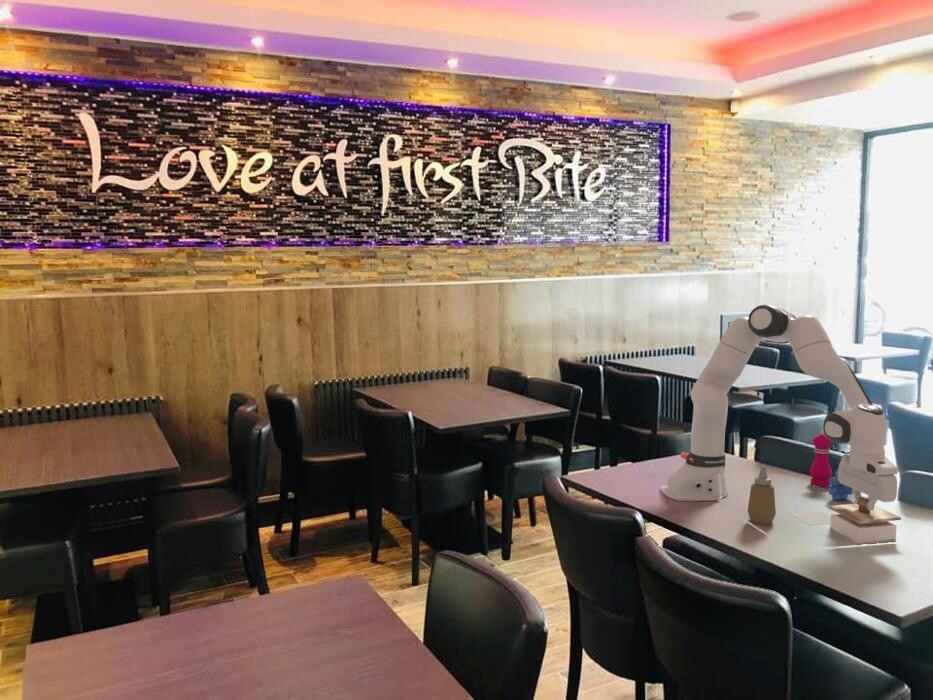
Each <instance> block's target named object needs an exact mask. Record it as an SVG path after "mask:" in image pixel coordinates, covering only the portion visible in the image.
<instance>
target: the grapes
mask: <svg viewBox="0 0 933 700" xmlns="http://www.w3.org/2000/svg"><path fill="white" fill-rule="evenodd" d="M838 469H839V468H838ZM838 469H836V470H835V471H834V476H831V478H830V479H829V483H830V486H829V488H828V490H827V493H828V494H829V495H830V496H831V499H832V500H833V501H839V500H840V501H841V500H842V501H846V500H847V499H848V497H849V496H850V495H852V494H853V492H852V488H851V487H848V486H846V485H844V484H842V483H839V481H838V478H837V476H838Z"/></svg>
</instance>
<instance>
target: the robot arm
mask: <svg viewBox="0 0 933 700" xmlns="http://www.w3.org/2000/svg"><path fill="white" fill-rule="evenodd" d="M762 341H764V342H766V343H773V344H780V345H782V344H788V343H789V345H790V348H791V350H792V352H793V355H794V357H795V360H796V363H797V364H798V367H800V370H801V371H803V373H805V374H806V375H808V376H810V377H812V378H816V379H820V380H823V381H826V382H829V383H830V384H832V385H834V386H835V387H837V389H839V391H840V392H841V394H842V396H843V397H844V399H845V401H846V403H847V405H848V407H849V409H846V410H845V409H844V410H839V411H834V412H829V413H828V414H827V415H825V417H824V419H823V422H822V430H823V431H824V434H825V436H826V437H827V438H828V439H829V440H830V441H831V442H832V443H834V444H840V445H841V444H847V445H849V446H850V448H849V453H844V454H843V455H842V456H841V459H840V460H841V461H840V462H839V465H838V476H837V478H838V481H839V483H842V484H844V485H846V486H848V487H851V488H852V492H853V493H852V494H853V498H854V504H857V505H859V497H862V494H865V495H867V497H868V499H869V501H868V503H865V508H866V509H868V510H874V505H876V503H877V502H878V501H880V502H882V503H891V502H894V501H895V500H896V499H897V495H898V478H897V477H896V475H897V474H898V472H899V469H898V466H896V465H895V464H894V463H893V461H892V462H891V461H890V459H888V457H886V454H885V453H886V450H885V444H884V443H885V441H886V439H887V437H886V436H887V420H886V418H887V417H886V415H885V412H884V410H883V409H882V408H881V407H879V406H877V405H874V404H873V403H872V401H871V399H870V397H869V396H868V394H867V392H866V391H865V389H864V387H863V386H862V384H861V382H860V380H859V379H858V377H857V375H856V374H855V372H854V371H853V369H852V367H851V366H850V365H849V364H848V363H846V362H845V361H844V360H843V359H842V358H841V357H840V355H839V354H838V353H837V351H836V350H835V349H834V348H835V347H833V344H832V342H831V340H830V337H829V336H828V334H827V332H826V329H825V328H824V327H823V325H822V324H821V322H820V320H819V319H818V318H816V317H815V316H813V315H801V316H797V317H796V316H795V315H794V314H792V313H791V312H789V311H787V310H785V309H784V308H781V307H776V306H775V305H771V304H760V305H757V306H756V307H754V308H752V310H751V311H750V312H749V314H748V316H744V315H743V316H738V317H736V318H735V319H733V321H732V322H731V323H730V324H729V326H728V327H727V329H726V330H725V332H724V333H723V335H722V336H721V338H720V340H719V343H718V345H717V346H716V347H715V350H714V351H713V354H712V355H711V358H710V360H709V361H708V362H707V364H706V366H705V367H704V369H702V372H701V373H700V375H699V377H698V378H697V380H696V381H695V383H694V385H693V386H692V388H691V391H690V399H691V401H692V404H693V408H692V409H693V410H692V422H691V424H692V425H691V428H690V429H691V431H690V433H691V435H690V451H689V452H688V453H685V451H683V452H682V451H681V453H680V457H681V458H682V459H683V460H685V461H684V463H682V464H681V465H680V466H678V467H677V468H676V469H674V470H673V471H672V472H670V474H669V475H668V479H667V485H661V487H660V491H661V493H662V494H663V495H664V496H665V497H668V498H670V499H672V500H675V501H679V502H681V501H683V502H686V501H687V502H688V501H689V502H690V501H692V502H693V501H694V502H695V501H696V502H697V501H705V502H706V501H709V502H711V501H713V502H714V501H715V502H717V501H720V500H723V498H725V497H727V496H728V494H729V493H728V489H727V483H726V478H725V468H726V453H725V442H726V441H725V439H726V438H725V435H726V427H727V426H726V425H727V420H728V409H729V398H728V397H729V396H728V395H727V394H728V393H729V391H730V389H731V388H732V386H733V385H734V384H735V382H736V381H737V380H738V379H739V378H740V376H741V375H742V373H743V372H744V369H745V368H746V366H747V364H748V361H749V359H751V356H752V354H753V352H754V350H755V348H756V346H757V345H758V344H759V343H760V342H762ZM861 493H862V494H861Z"/></svg>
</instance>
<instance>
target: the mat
mask: <svg viewBox="0 0 933 700" xmlns="http://www.w3.org/2000/svg"><path fill="white" fill-rule="evenodd" d="M788 515H791V516H792V517H794V518H796V519H798V520H800V521H801V522H803V523H805V524H807V525H808V526H815V525H817V526H818V525H826V524H829V525H830V524H831V515H828V514H827V513H824V512H823V511H821V510H808V511H807V510H806V511H794V512H793V511H792V512H788Z"/></svg>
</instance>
